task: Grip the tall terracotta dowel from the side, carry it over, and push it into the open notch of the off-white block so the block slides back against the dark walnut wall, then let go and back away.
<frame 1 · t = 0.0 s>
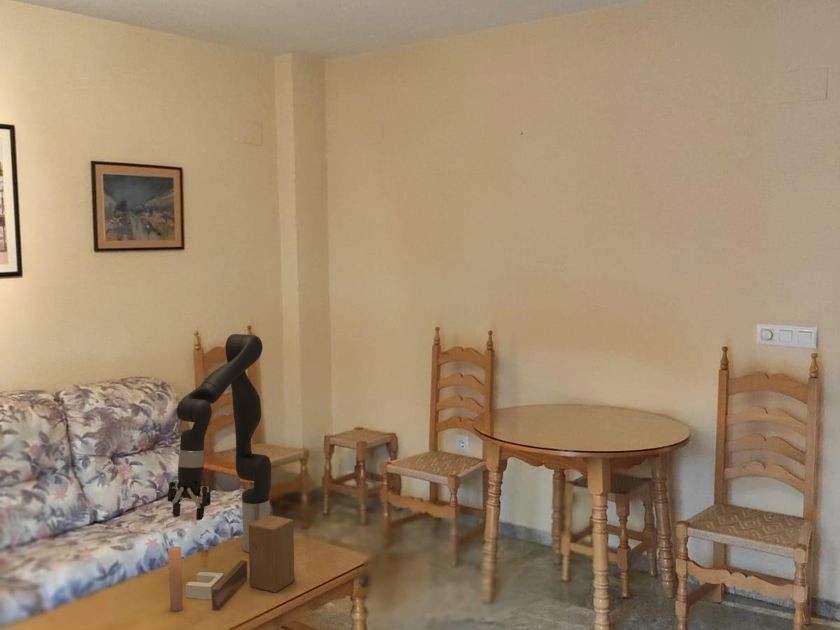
hand: (187, 518, 250), 22 cm above the table, tool pointing down, fingers open, 8 cm apart
wooden block: (272, 584, 255), on the table
dowel: (176, 608, 238), on the table
notched block: (205, 591, 250), on the table
wall: (230, 593, 248), on the table
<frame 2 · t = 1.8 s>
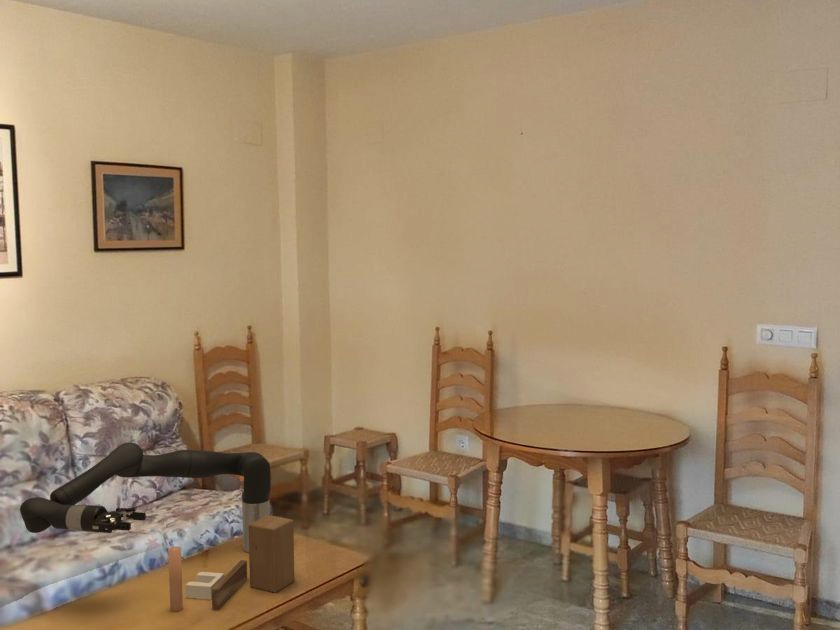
hand: (137, 521, 238), 25 cm above the table, tool horizontal, fingers open, 8 cm apart
nothing on the table moved.
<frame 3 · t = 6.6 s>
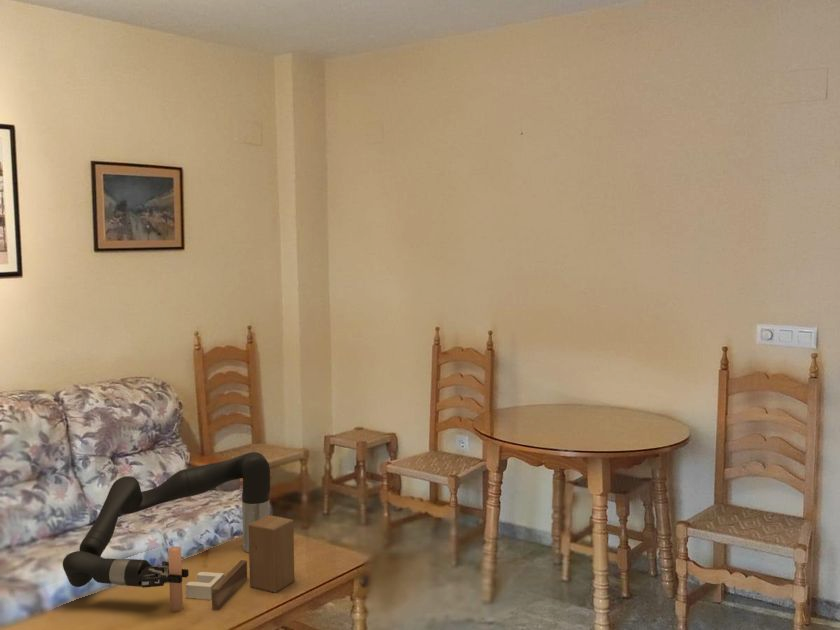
hand: (184, 576, 237), 10 cm above the table, tool horizontal, fingers closed on dowel, 3 cm apart
dowel: (176, 608, 238), on the table, touching gripper
everything else where it was.
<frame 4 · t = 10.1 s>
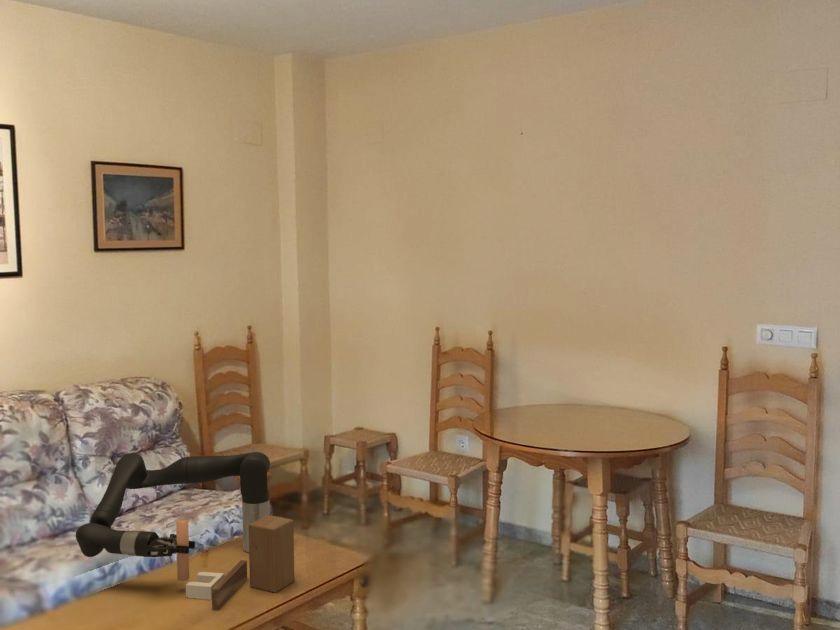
hand: (191, 547, 249), 14 cm above the table, tool horizontal, fingers closed on dowel, 3 cm apart
dowel: (183, 578, 251), point 4 cm above the table, touching gripper
everything else where it was.
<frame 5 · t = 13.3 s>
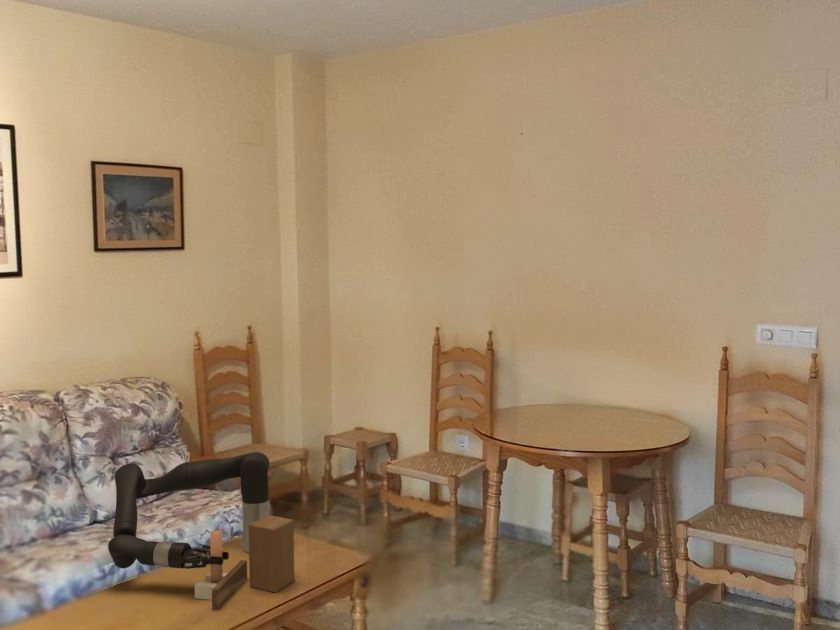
hand: (225, 558, 248), 11 cm above the table, tool horizontal, fingers closed on dowel, 3 cm apart
dowel: (216, 589, 249), point 1 cm above the table, touching gripper, notched block
notched block: (214, 592, 249), on the table, touching dowel
everything else where it was.
when the fingers open (11 cm above the table, at t = 13.6 s): dowel stays where it is, resting in notched block.
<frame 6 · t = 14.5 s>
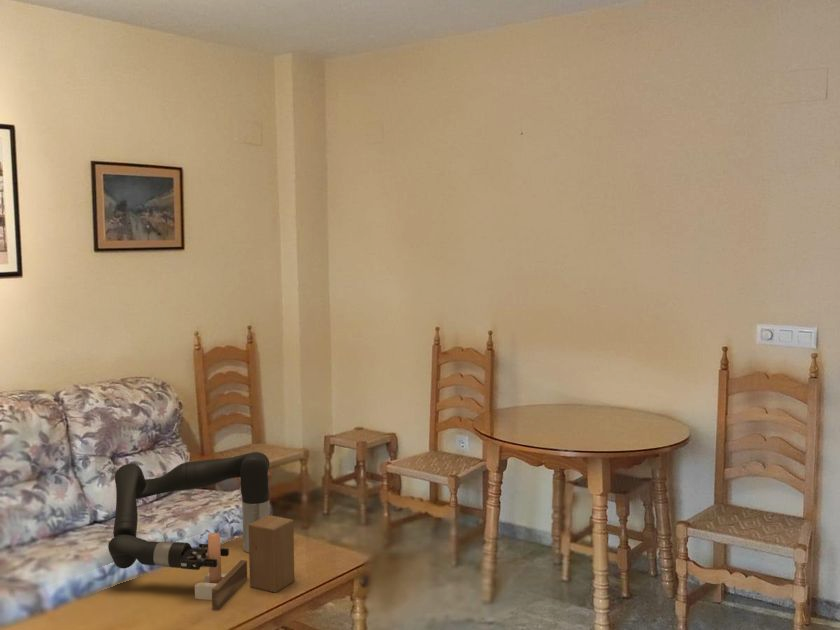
hand: (222, 557, 248), 11 cm above the table, tool horizontal, fingers open, 8 cm apart
dowel: (215, 592, 249), resting in notched block
notched block: (214, 592, 249), on the table
everything else where it was.
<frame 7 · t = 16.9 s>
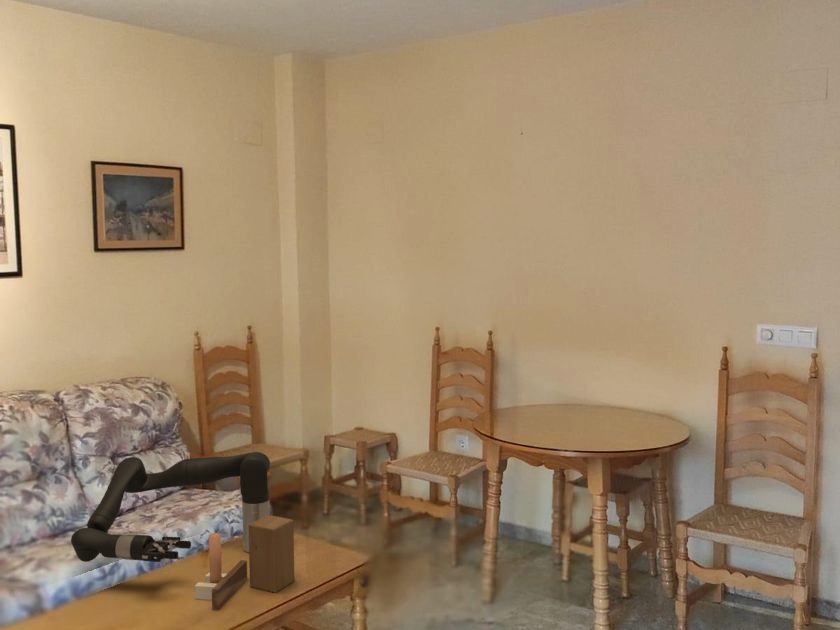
hand: (184, 550, 250), 13 cm above the table, tool horizontal, fingers open, 8 cm apart
nothing on the table moved.
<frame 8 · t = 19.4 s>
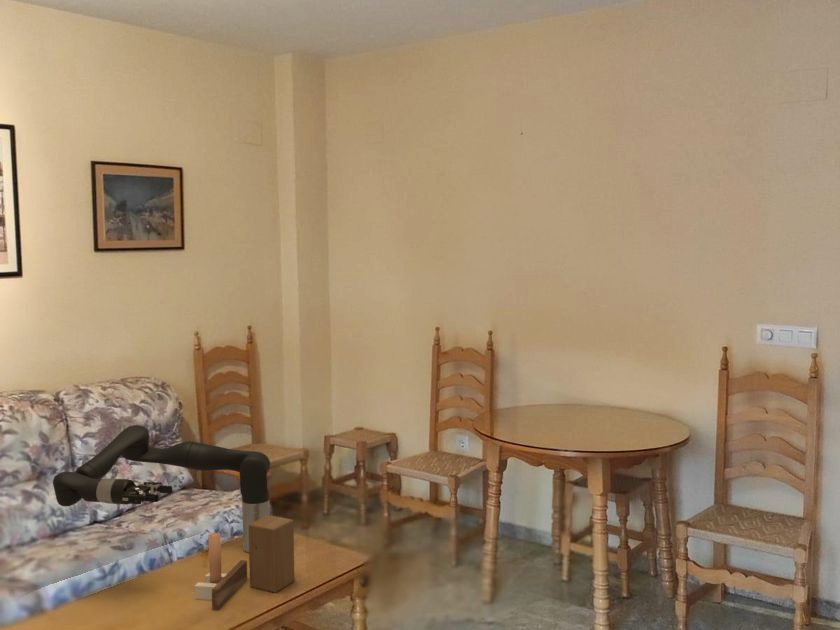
hand: (165, 493, 249), 30 cm above the table, tool horizontal, fingers open, 8 cm apart
nothing on the table moved.
at the end: dowel 0.5 cm from the notched block (horizontally); notched block 0.2 cm from the target spot on the table beside the wall, on the table; dowel tilted 0° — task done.
